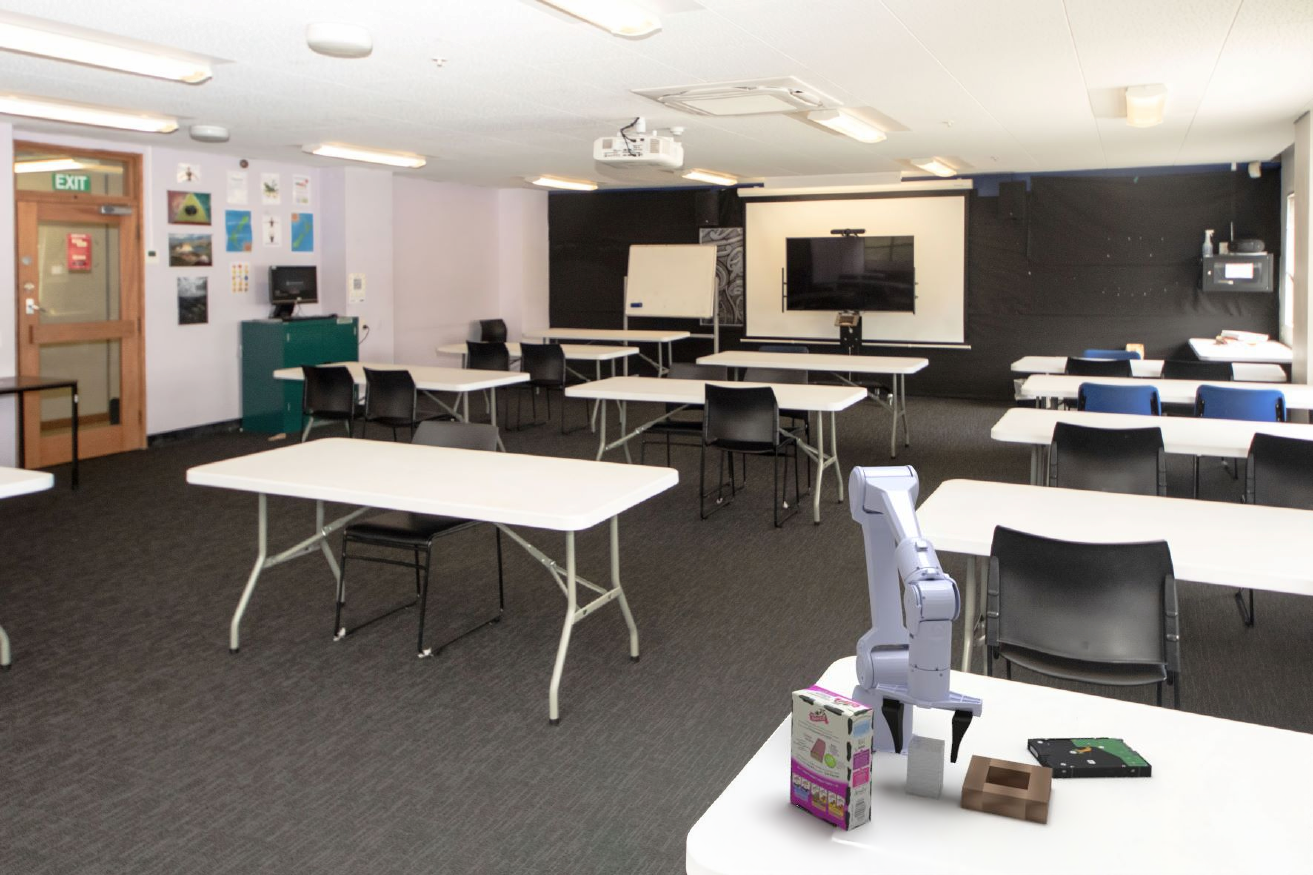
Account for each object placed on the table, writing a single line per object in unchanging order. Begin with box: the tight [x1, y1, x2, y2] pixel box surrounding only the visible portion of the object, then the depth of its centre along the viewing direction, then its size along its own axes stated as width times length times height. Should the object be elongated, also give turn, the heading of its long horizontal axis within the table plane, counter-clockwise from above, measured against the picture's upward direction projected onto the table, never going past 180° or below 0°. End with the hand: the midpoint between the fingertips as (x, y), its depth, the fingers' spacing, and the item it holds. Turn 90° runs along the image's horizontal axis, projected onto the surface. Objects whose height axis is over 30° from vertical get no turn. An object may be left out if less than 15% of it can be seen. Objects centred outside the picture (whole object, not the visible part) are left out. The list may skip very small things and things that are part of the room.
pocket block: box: [960, 754, 1053, 825], centre depth 147 cm, size 11×11×4 cm
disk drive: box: [1026, 736, 1153, 779], centre depth 158 cm, size 10×3×15 cm
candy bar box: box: [789, 684, 874, 832], centre depth 143 cm, size 11×5×16 cm, turn 37°
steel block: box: [906, 735, 946, 801], centre depth 149 cm, size 4×4×7 cm
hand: (926, 755), depth 149 cm, fingers open, 7 cm apart
